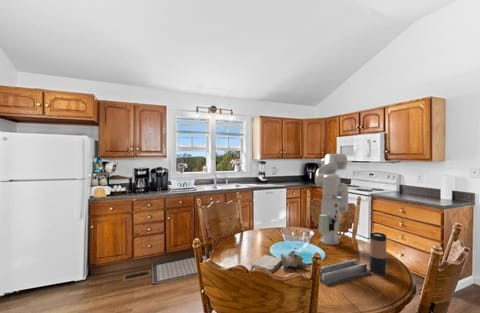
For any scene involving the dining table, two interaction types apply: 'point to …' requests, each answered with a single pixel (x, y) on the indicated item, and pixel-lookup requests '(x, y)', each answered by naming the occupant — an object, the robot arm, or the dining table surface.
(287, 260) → the ceramic sculpture
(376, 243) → the travel mug
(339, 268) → the rail
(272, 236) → the dining table surface
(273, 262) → the washcloth
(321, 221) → the door panel
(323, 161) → the robot arm
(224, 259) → the dining table surface
